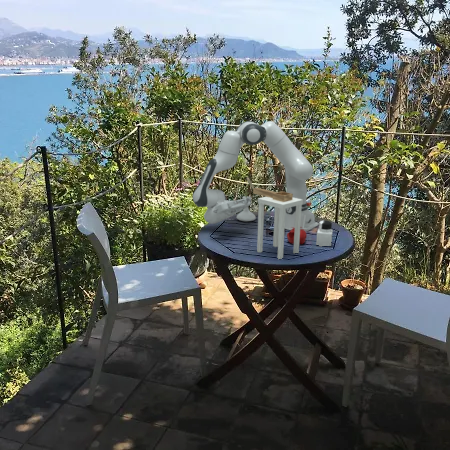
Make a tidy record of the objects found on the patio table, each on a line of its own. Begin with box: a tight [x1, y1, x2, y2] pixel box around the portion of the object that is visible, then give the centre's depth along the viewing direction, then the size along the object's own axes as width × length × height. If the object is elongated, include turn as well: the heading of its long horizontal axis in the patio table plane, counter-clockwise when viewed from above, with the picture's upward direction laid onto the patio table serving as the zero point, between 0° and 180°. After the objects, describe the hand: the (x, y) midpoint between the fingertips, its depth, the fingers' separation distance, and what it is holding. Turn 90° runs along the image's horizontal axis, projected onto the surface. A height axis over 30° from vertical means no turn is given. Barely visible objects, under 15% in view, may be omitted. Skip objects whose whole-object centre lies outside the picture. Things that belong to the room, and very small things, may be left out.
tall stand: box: [256, 196, 303, 260], centre depth 211 cm, size 14×15×26 cm
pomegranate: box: [286, 227, 308, 245], centre depth 228 cm, size 10×10×9 cm
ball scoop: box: [252, 187, 293, 202], centre depth 211 cm, size 6×20×3 cm, turn 43°
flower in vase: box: [236, 177, 257, 222], centre depth 263 cm, size 13×11×25 cm
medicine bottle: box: [315, 220, 333, 247], centre depth 225 cm, size 7×7×12 cm
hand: (243, 200), depth 225 cm, fingers open, 8 cm apart
